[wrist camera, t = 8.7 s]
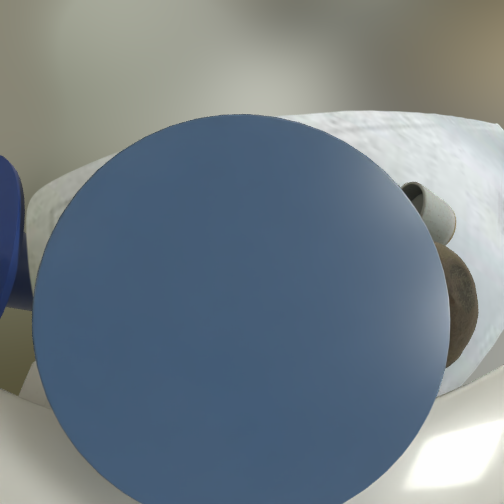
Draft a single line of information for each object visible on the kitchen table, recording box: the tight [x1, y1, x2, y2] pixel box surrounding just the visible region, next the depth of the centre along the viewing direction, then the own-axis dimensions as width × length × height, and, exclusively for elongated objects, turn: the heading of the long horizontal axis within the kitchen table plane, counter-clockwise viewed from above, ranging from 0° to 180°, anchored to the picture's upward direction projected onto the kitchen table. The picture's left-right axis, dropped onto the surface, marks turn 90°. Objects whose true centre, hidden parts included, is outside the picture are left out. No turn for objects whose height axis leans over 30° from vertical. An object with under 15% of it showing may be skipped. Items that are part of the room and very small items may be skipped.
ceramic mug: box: [401, 182, 456, 245], centre depth 32 cm, size 11×8×8 cm
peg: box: [32, 114, 450, 504], centre depth 9 cm, size 4×4×15 cm
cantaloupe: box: [433, 241, 478, 368], centre depth 24 cm, size 14×14×15 cm
